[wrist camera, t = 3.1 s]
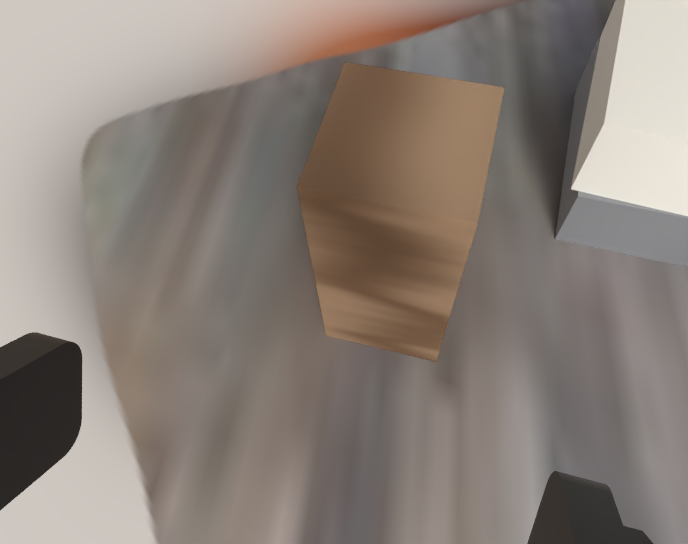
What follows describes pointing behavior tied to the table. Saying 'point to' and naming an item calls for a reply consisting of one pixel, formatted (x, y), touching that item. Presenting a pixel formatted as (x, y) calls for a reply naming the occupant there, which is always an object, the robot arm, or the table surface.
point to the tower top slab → (639, 108)
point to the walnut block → (396, 202)
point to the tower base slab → (614, 206)
